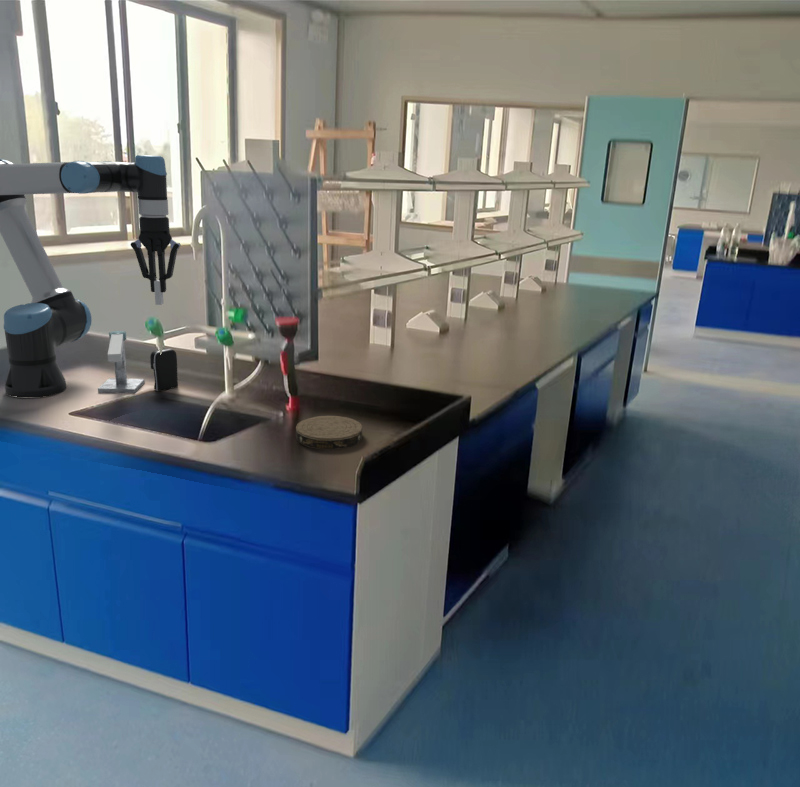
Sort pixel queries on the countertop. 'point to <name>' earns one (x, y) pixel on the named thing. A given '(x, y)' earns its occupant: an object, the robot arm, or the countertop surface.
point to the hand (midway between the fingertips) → (159, 303)
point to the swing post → (121, 380)
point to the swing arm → (116, 345)
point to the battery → (164, 369)
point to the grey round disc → (329, 432)
